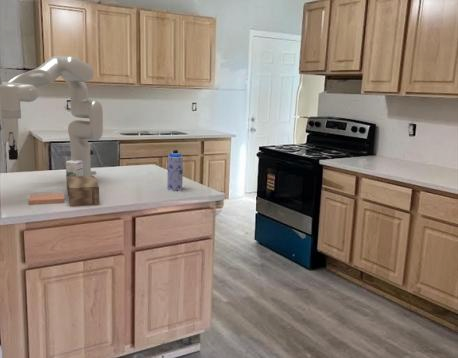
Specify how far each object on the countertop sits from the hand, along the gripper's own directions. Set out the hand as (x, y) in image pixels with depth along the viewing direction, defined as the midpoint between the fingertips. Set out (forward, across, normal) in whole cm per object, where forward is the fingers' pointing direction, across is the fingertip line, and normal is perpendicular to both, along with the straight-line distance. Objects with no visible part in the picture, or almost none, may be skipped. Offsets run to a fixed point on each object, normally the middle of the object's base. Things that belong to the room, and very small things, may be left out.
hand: (13, 158), depth 186 cm
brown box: (+19, 0, +27) cm, 33 cm away
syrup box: (+19, -16, +25) cm, 36 cm away
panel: (+20, 0, +12) cm, 23 cm away
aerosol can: (+19, -8, +72) cm, 75 cm away
